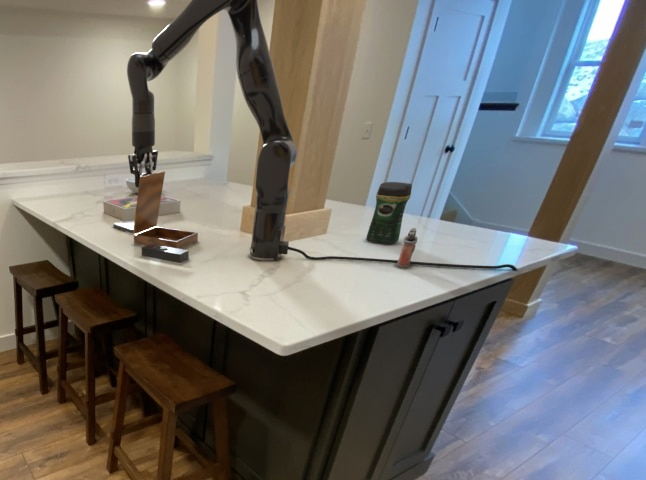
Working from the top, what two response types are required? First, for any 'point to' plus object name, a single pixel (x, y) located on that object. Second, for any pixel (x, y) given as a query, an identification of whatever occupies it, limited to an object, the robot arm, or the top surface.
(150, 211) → the lid
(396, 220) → the coffee jar
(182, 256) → the remote
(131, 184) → the serving bowl
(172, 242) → the chest
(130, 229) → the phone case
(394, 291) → the top surface
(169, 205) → the product packaging
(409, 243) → the lighter
